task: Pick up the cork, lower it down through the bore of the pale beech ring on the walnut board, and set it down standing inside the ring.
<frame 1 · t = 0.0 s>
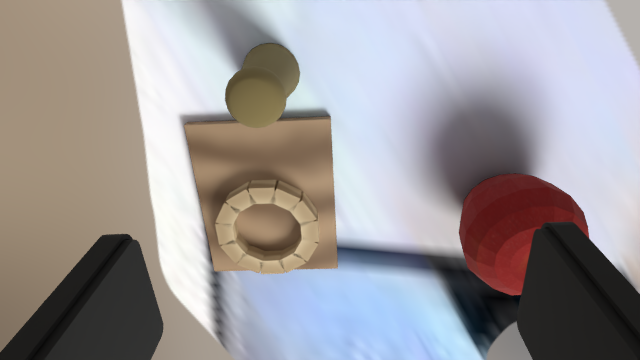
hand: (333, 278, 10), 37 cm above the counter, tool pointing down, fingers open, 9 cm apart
beech ring: (269, 223, 52), resting on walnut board
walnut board: (268, 198, 52), on the counter
cork: (271, 72, 45), on the counter
apple: (494, 197, 51), on the counter
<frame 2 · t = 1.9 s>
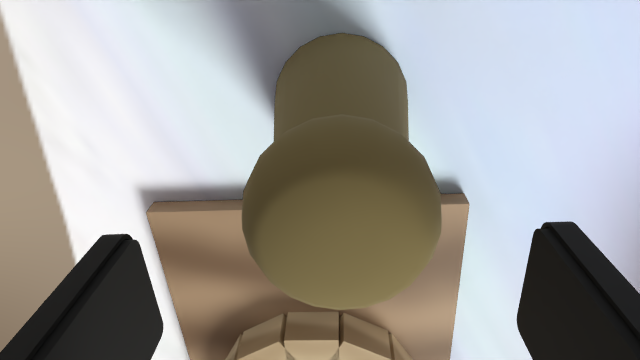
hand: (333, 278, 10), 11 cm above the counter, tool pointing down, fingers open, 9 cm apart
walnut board: (317, 335, 27), on the counter
cork: (340, 100, 20), on the counter
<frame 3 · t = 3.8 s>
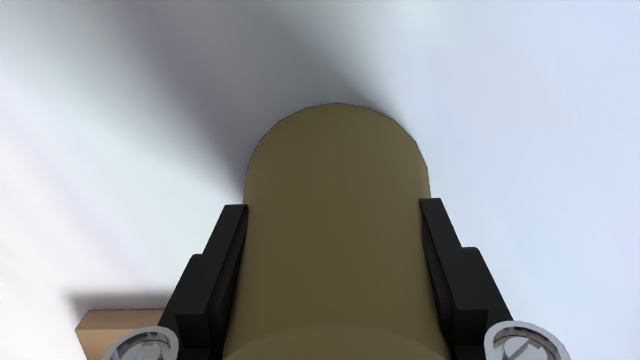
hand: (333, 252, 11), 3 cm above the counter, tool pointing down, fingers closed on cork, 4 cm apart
cork: (336, 188, 14), on the counter, touching gripper
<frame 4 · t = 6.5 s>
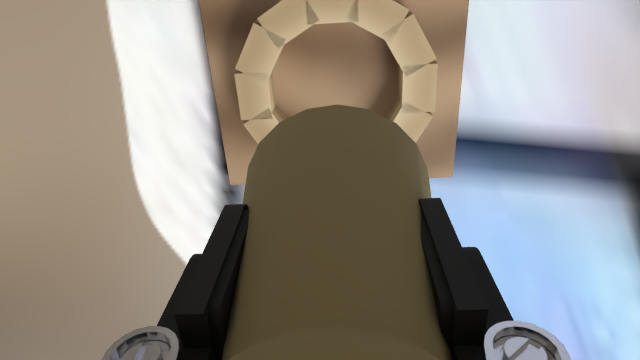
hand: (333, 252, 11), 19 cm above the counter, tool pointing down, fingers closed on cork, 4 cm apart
beech ring: (335, 84, 28), resting on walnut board
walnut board: (333, 33, 27), on the counter
cork: (336, 190, 14), point 16 cm above the counter, touching gripper
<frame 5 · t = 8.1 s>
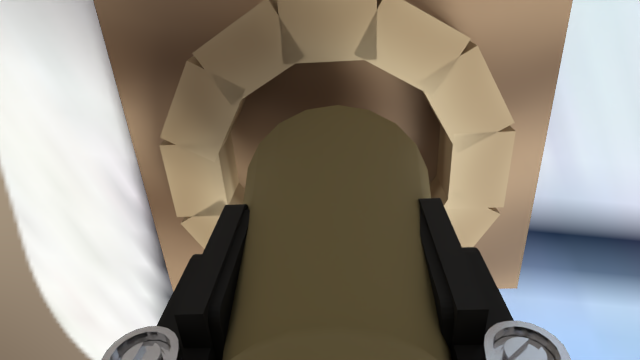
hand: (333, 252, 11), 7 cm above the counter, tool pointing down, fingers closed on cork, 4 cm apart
beech ring: (335, 154, 17), resting on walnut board
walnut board: (332, 71, 16), on the counter
cork: (336, 191, 14), point 4 cm above the counter, touching gripper
when the fingers open (5 cm above the counter, at t = 9.3 s): cork stays where it is, resting on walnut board.
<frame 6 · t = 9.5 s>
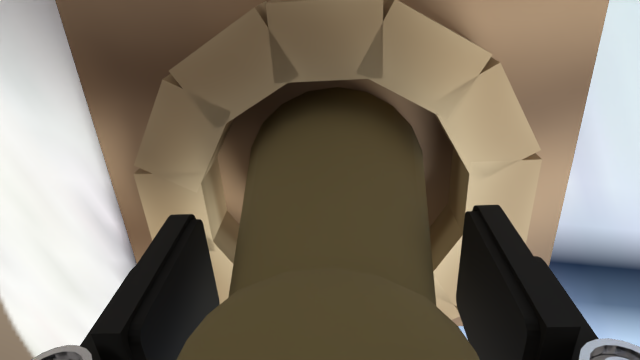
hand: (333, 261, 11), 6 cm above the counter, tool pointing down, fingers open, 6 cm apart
beech ring: (334, 180, 15), resting on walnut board
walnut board: (331, 88, 15), on the counter
cork: (335, 170, 15), point 1 cm above the counter, touching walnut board
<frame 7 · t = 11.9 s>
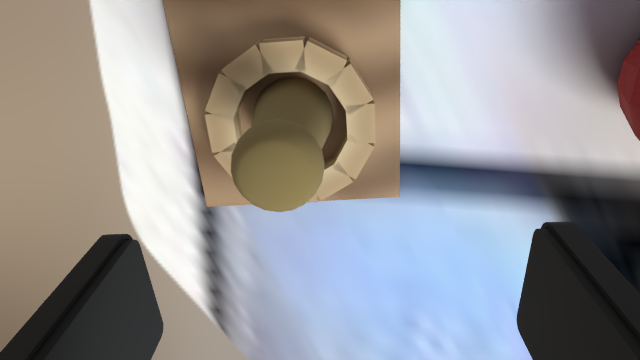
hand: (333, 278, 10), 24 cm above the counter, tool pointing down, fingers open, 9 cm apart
beech ring: (293, 120, 32), resting on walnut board
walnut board: (290, 77, 32), on the counter
cork: (293, 115, 32), point 1 cm above the counter, touching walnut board
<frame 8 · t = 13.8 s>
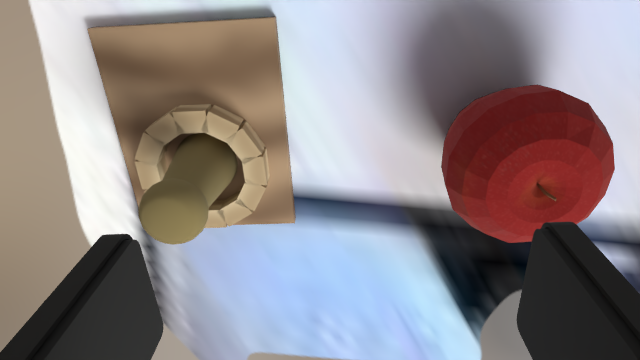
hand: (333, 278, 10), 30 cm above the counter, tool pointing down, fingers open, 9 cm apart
beech ring: (206, 164, 42), resting on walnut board
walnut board: (204, 131, 41), on the counter
cork: (207, 161, 42), point 1 cm above the counter, touching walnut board
apple: (488, 129, 40), on the counter
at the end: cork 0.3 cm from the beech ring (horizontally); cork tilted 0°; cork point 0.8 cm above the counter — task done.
